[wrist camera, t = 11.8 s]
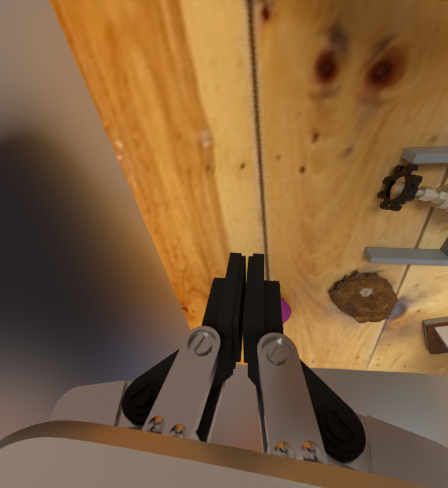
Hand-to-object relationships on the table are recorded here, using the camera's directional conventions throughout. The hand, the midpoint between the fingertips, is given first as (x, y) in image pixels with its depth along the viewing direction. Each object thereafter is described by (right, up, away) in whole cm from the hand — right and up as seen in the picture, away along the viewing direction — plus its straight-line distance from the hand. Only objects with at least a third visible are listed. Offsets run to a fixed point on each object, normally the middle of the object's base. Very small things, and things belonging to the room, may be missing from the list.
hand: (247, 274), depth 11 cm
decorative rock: (+29, -9, +36) cm, 47 cm away
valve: (+29, +10, +22) cm, 37 cm away
